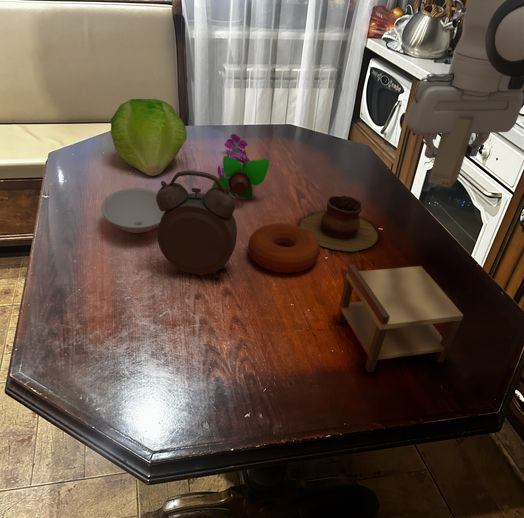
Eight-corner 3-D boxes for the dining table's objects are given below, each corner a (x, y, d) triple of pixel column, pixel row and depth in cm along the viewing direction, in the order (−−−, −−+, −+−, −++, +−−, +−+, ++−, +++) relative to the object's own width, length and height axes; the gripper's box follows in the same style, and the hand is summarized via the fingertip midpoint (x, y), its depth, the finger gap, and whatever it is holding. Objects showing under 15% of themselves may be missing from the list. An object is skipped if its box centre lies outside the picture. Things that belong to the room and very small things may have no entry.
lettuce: (104, 177, 127) (139, 137, 116) (98, 113, 133) (131, 68, 122) (162, 198, 139) (199, 163, 128) (154, 138, 145) (189, 100, 134)
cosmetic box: (449, 189, 95) (471, 121, 87) (426, 182, 97) (446, 115, 89) (458, 178, 99) (479, 112, 91) (435, 172, 101) (455, 106, 93)
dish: (104, 209, 116) (101, 188, 112) (168, 207, 119) (167, 187, 115) (104, 250, 103) (100, 228, 100) (176, 247, 106) (175, 225, 103)
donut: (283, 232, 114) (285, 212, 111) (332, 262, 107) (337, 241, 103) (232, 253, 106) (233, 231, 103) (281, 287, 99) (284, 265, 95)
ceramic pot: (333, 205, 126) (338, 178, 121) (393, 235, 117) (401, 206, 113) (283, 227, 116) (286, 198, 111) (344, 261, 107) (351, 231, 102)
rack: (406, 311, 96) (423, 258, 88) (443, 362, 86) (467, 307, 78) (336, 318, 93) (348, 264, 85) (367, 372, 83) (383, 316, 75)
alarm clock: (237, 264, 103) (242, 167, 90) (231, 285, 98) (235, 185, 84) (166, 255, 104) (160, 157, 90) (156, 275, 98) (149, 174, 85)
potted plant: (221, 225, 122) (217, 174, 150) (283, 193, 119) (268, 147, 146) (194, 179, 115) (196, 135, 142) (260, 144, 112) (248, 105, 139)
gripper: (429, 79, 81) (407, 165, 90) (538, 79, 86) (507, 161, 95) (411, 68, 86) (392, 151, 95) (516, 69, 90) (488, 148, 99)
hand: (450, 156), depth 95 cm, fingers closed on cosmetic box, 7 cm apart
